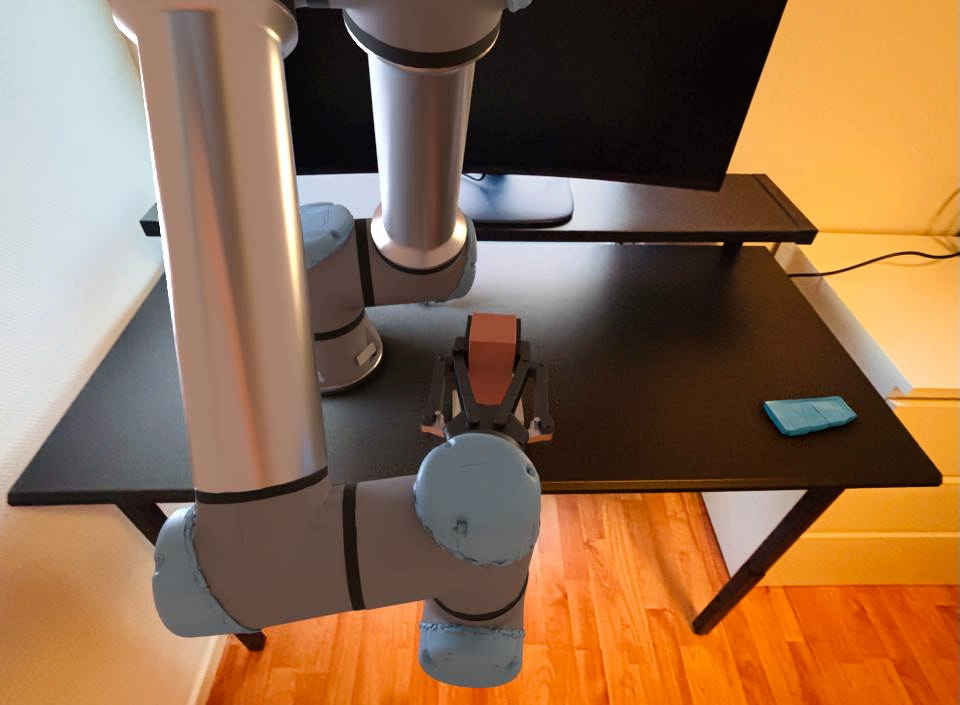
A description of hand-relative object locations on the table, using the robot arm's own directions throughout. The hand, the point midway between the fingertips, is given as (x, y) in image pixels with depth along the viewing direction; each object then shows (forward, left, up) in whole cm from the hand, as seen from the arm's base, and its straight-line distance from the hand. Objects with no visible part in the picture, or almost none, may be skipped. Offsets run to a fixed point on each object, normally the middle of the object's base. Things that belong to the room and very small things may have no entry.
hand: (493, 325), depth 65 cm
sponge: (+26, +37, -14) cm, 47 cm away
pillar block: (+4, -3, -6) cm, 8 cm away
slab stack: (+4, -3, -14) cm, 15 cm away
